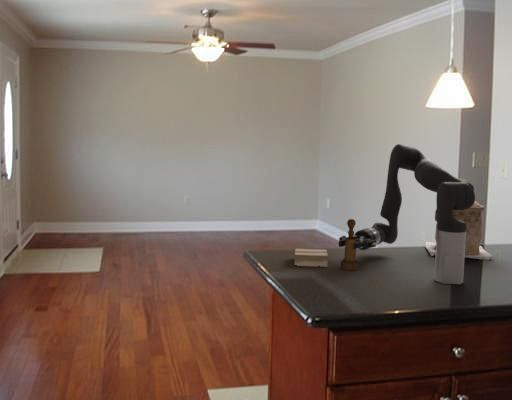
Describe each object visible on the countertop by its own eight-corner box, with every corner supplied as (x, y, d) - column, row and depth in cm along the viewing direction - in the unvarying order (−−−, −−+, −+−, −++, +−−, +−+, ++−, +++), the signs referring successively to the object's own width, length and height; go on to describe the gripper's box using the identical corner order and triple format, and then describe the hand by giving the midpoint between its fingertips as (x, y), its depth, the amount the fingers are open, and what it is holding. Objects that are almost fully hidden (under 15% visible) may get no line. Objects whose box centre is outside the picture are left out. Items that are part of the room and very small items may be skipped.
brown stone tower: (493, 261, 228) (499, 180, 224) (428, 257, 233) (433, 177, 229) (482, 249, 252) (487, 175, 249) (423, 245, 257) (427, 173, 253)
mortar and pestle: (359, 270, 207) (362, 220, 205) (341, 270, 207) (343, 220, 205) (357, 266, 213) (359, 218, 211) (339, 266, 213) (341, 217, 211)
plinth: (327, 266, 212) (327, 256, 211) (294, 265, 213) (294, 254, 212) (326, 259, 224) (326, 249, 223) (295, 258, 225) (295, 248, 224)
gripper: (350, 226, 224) (329, 232, 210) (385, 230, 216) (366, 237, 202) (349, 245, 225) (328, 252, 211) (384, 250, 217) (365, 258, 203)
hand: (347, 244), depth 207 cm, fingers open, 5 cm apart
